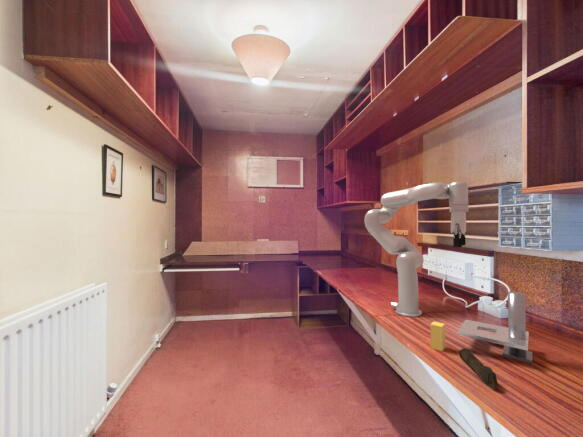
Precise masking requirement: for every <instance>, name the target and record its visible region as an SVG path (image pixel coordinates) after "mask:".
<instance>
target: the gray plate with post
mask: <svg viewBox="0 0 583 437" xmlns="http://www.w3.org/2000/svg"><path fill="white" fill-rule="evenodd" d="M507 313H508V314H507V322H508V324H507V326H508V327H507V326H501V325H496V324H491V323H485V322H480V321H474V320H469V319H465V320H464V321H463V323H462V324H461V325H460V327H459V329H457V336H461V337H465V338H470V339H475V340H480V341H483V342H488V343H493V344H498V345H501V346H503V349H502V354H501V355H502V356H501V357H504V358H507V359H508V358H509V359H512V360H516V361H519V362H520V361H521V362H523V363H529V364H533V351H530V350H529V339H530V338H529V337H530V335H529V334H530V333H529V332H530V331H527V330H526V329H527V327H526V326H527V325H526V322H527V321H526V294H525V293H524V292H519V291H508V292H507ZM479 330H480V331H479ZM483 331H486V332H483ZM488 332H491V333H488ZM493 333H494V334H493Z"/></svg>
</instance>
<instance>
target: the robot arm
mask: <svg viewBox="0 0 583 437" xmlns="http://www.w3.org/2000/svg"><path fill="white" fill-rule="evenodd" d="M435 199H437V200H446V199H448V205H449V207H448V208H449V213H451V214H450V233H451V234H453V240H452V241H453V243H452V244H453V248H462V247H463V246H466V232H467V213H468V212H469V185H468V182H466V181H453V182H451V183H443V182H429V183H426V184H420V185H416V186H413V187H409V188H404V189H400V190H395V191H389V192H386V193H384V194H383V195H382V196H381V198H380V203H381V205H382V207H381V208H372V209H370V210H368V211H367V212H366V214H365V215H364V222H363V223H364V226H365V229H366V230H367V231H368V233H369V234H370V235H371V236H372V237H373V238H374V239H375V240H376V241H377V243H379V244H380V246H381V247H382V248H383V249H384V250H385V251H386V252H387V253H388V254H389V255H398V256H397V258H396V260H395V261H396V262H395V265H396V271H397V282H398V283H397V285H398V286H397V287H398V288H397V291H398V295H397V296H398V302H395V301H391V302H390V305H391V307H394V308H395V313H396V314H398V315H400V316H403V317H410V318H411V317H413V318H417V317H420V316H422V315H423V312H422V310H420V309H419V280H418V278H419V277H418V272H417V269H418V268H420V267H422V265H423V264H424V259H425V258H424V256H423V254H422V252H420V251H419V250H418V249H417V248H416V247H415V246H414V245H413V244H412V243H411V242H410V241H409V240H408V239H407V238H405V237H404V236H399V235H397V236H396V235H394V234H393V233H392V232H391V231H390V230H389V229H388V228H387V227H385V225H384V224H387V223H388V222H390V221H391V220H392V218H393V217H394V216H395V215H396V214H397V212H398V211H399V209H400V208H402V207H405V206H411V205H415V204H416V203H417V202H421V201H427V200H435Z"/></svg>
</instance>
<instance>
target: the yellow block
mask: <svg viewBox="0 0 583 437" xmlns="http://www.w3.org/2000/svg"><path fill="white" fill-rule="evenodd" d="M429 325H430V326H429V327H430V349H433V350H436V351H440V352H443V351H444V350H445V348H446V324H445V323H444V322H438V321H434V320H433V321H432V322H431V323H430V324H429Z"/></svg>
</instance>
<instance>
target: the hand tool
mask: <svg viewBox="0 0 583 437" xmlns="http://www.w3.org/2000/svg"><path fill="white" fill-rule="evenodd" d="M458 354H459V357H460V359H461V360H462V361H465V363H467V364H468V365H469V368H471V369H472V370H473V371H474V372H475V373H476V374H477V375H478V376H479V378H480V381H481V382H482V383H484V384H485V385H486V386H487V387H488V388H490V389H492V390H493V391H497V387H498V386H497V385H498V378H497V374H496V372H494V371H493V369H492V368H491V367H489V366H487V365H484V363H482V362H481V360H479V359H478V358H477V357H476V356H475V355H474V354H473V353H472V351H471V349H469V348H463V347H462V348H461V349H460V350H458Z"/></svg>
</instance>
